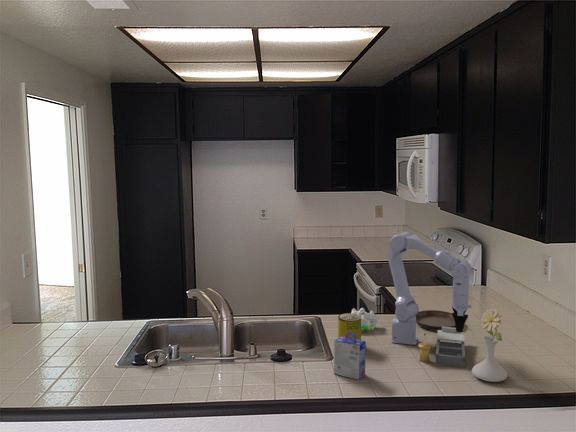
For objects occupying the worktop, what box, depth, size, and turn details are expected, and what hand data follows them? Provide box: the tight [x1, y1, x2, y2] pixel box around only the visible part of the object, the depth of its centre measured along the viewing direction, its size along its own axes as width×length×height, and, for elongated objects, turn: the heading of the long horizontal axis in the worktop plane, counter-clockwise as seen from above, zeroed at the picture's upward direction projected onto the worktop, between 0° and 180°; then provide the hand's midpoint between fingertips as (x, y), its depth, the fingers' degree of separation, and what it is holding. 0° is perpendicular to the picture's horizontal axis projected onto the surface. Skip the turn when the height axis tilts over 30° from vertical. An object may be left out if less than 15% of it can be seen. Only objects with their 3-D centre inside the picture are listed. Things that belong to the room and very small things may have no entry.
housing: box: [435, 339, 466, 368], centre depth 193 cm, size 10×18×4 cm, turn 162°
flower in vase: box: [471, 308, 508, 383], centre depth 172 cm, size 13×11×25 cm
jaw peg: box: [418, 342, 432, 364], centre depth 189 cm, size 4×4×6 cm
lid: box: [436, 327, 465, 343], centre depth 202 cm, size 10×10×2 cm
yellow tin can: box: [337, 312, 362, 340], centre depth 203 cm, size 9×9×12 cm
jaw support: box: [350, 307, 379, 331], centre depth 222 cm, size 12×9×10 cm
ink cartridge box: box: [333, 332, 367, 380], centre depth 177 cm, size 10×6×14 cm, turn 58°
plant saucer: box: [416, 309, 456, 332], centre depth 227 cm, size 21×21×3 cm
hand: (459, 328), depth 194 cm, fingers open, 7 cm apart
